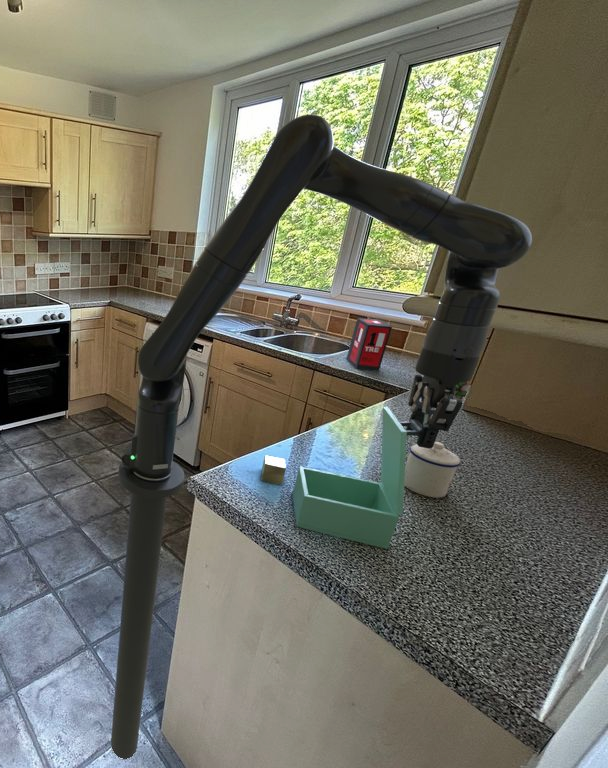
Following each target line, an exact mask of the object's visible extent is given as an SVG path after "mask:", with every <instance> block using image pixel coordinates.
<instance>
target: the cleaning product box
mask: <svg viewBox="0 0 608 768" xmlns="http://www.w3.org/2000/svg"><path fill="white" fill-rule="evenodd" d="M392 328H393V327H392V325H389V324H388V323H386V322H384V321H382V320H380V319H373V318H365V317H364V318H361V317H357V318H356V321H355V325H354V329H353V333H352V336H351V340H350V344H349V348H348V350H347V351H348V352H347V355H346V360H347V361H348V362H349V363H350V364H351V366H352V367H354V368H355V369H357V370H364V371H365V370H366V371H373V372H379V371H380V369H381V365H382V361H383V359H384V355H385V352H386V348H387V345H388V342H389V339H390V336H391V332H392Z"/></svg>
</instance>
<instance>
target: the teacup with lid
mask: <svg viewBox="0 0 608 768" xmlns="http://www.w3.org/2000/svg"><path fill="white" fill-rule="evenodd" d="M460 465H461V460H460V457H459V456H458V455H457V454H455V453H454V452H452V451H450V450H448V448H447V449H446V448H445V445H444V444H443V443H442V442H439V441H435V443H434V445H433V447H432V448H430V449H429V448H423V447H419V446H418V445H417V443H415V444H414V445H412V446H411V447H410V448H409V450H408V453H407V459H406V462H405V482H404V487H405V488H407V489H409V491H412V492H414V493H416V494H419V495H421V496H425V497H428V498H438V499H439V498H440V499H441V498H443V497H445V496H446V495H447V494H448V491H449V489H450V487H451V483H452V481H453V479H454V476H455V474H456V472H457V469H458V467H460Z"/></svg>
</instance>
